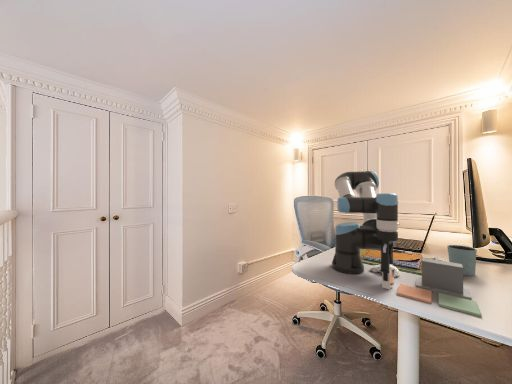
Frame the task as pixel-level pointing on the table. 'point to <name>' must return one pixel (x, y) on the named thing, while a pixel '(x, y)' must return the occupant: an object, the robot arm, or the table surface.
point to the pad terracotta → (415, 293)
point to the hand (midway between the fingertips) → (387, 284)
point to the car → (378, 268)
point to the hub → (443, 278)
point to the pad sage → (459, 304)
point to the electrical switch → (435, 258)
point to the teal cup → (463, 258)
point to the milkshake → (391, 275)
